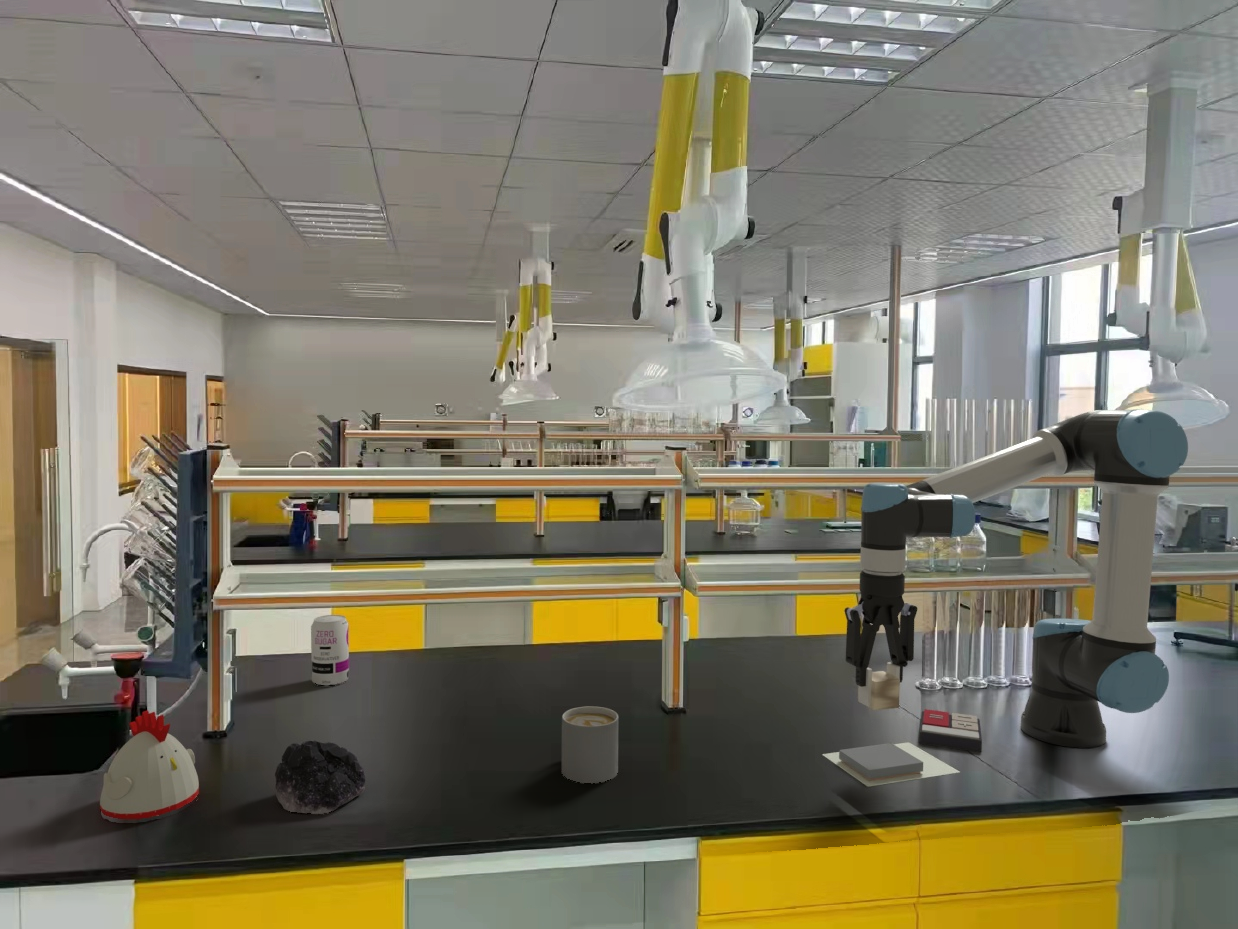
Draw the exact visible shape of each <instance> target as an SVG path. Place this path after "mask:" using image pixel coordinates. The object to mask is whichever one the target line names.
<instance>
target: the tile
mask: <svg viewBox="0 0 1238 929" xmlns="http://www.w3.org/2000/svg"><path fill="white" fill-rule="evenodd" d="M838 752H839V759H840V760H841V761H842V762H843V763H844V764H846V765H847V766H849V767H850V768H852V769H853V770H855V771H856V772H858V773H859V774H860V775H862V776H863V777H865V778H866V779H868V780H869V781H871V780H878V779H884V778H891V777H897V776H904V775H911V774H917V773H920V772H921V771H923V762H922V761H921V760H919V759H917V758H915V757H914V756H912V755H910V754H909V753H907V752H905V751H904V750H902V749H900V748H899V747H897V746H895V745H894V743H891V742H888V743H881V744H874V745H873V744H872V745H866V746H859V747H858V746H857V747H852V748H851V747H850V748H846V749H845V748H844V749H839V751H838Z"/></svg>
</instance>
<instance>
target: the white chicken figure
mask: <svg viewBox="0 0 1238 929" xmlns="http://www.w3.org/2000/svg"><path fill="white" fill-rule="evenodd" d="M141 713H142V714H141V715H138V716H136V717H135V720H134V721H131V722H129V727H130V731H131V734H132V736H133V737H131V738H130V739H129V740H128V741H127V742H126V743H125V744H123V746H122V747H121V748H120V749H119V750H118V751H117V754H116V755H115V756H114V757H113V759H112V761H111V763H110V765H109V768H108V771H107V772H105V773H104V774H103V786H102V789H101V794H100V799H99V810H100V809H101V811H102V813H103V814H104V815H106V816H109V817H113V818H118V819H142V818H149V817H153V816H159V815H161V814H164V813H167V812H170V811H172V810H175V809H179V808H181V807H183V806H184V805H186V804H188V803H190V802H192V801H193V800H194V799H195V798H196V797H197V795H198V794H199V795H200V787H199V786H200V784H199V783H200V782H199V776H198V773H197V770H196V767H195V763H196V757H195V753H194V751H193V750H192V749H191V748H186V747H185V746H184V745H183V744H182V743H181V742H180V741H179V739H177V738H176V737H175V736H173V735H172V734H170V733H169V730H170V727H171V723H167V724H165V717H164V714H160V715H158V716H156V712H155V711H151V712H150V711H149V710H148V709H147V710H145V711H142V712H141Z"/></svg>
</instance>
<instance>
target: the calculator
mask: <svg viewBox="0 0 1238 929" xmlns="http://www.w3.org/2000/svg"><path fill="white" fill-rule="evenodd" d="M919 722H920V723H919V731H918V732H919V733H918V743H919V744H923V745H929V746H937V747H942V748H950V749H957V750H964V751H970V752H977V753H981V752H982V751H983V750H982V749H983V747H982V746H983V739H982V730H981V720H980V718H978V716H977V715H972V714H964V713H957V712H952V713H951V714H950V713H949V711H941V710H940V711H939V710H935V709H934V710H932V709H924V710H922V711H921V716H920V721H919Z"/></svg>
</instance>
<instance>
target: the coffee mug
mask: <svg viewBox="0 0 1238 929" xmlns="http://www.w3.org/2000/svg"><path fill="white" fill-rule="evenodd" d="M617 773H619V713H617V711H615V710H612V709H611V708H608V707H603V706H602V707H601V706H588V705H586V706H579V707H574V708H570V709H568V710H566V711H565V712H563V714H562V716H561V774H563V775H562V776H563V777H564V776H565V777H566V778H567V780H568V779H570V780H573V781H576V782H575V783H577V782H580V783H579V784H584V783H591V785H592V784H593V783H595V784H600V783H599V782H601V783H605V781H606V782H608V781H607V780H609V781H610V779H611V780H613V779H614V778H616V777H617V775H618V774H617ZM565 777H564V778H565ZM566 778H565V779H566ZM570 780H569V781H570ZM573 781H572V782H573Z"/></svg>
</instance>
